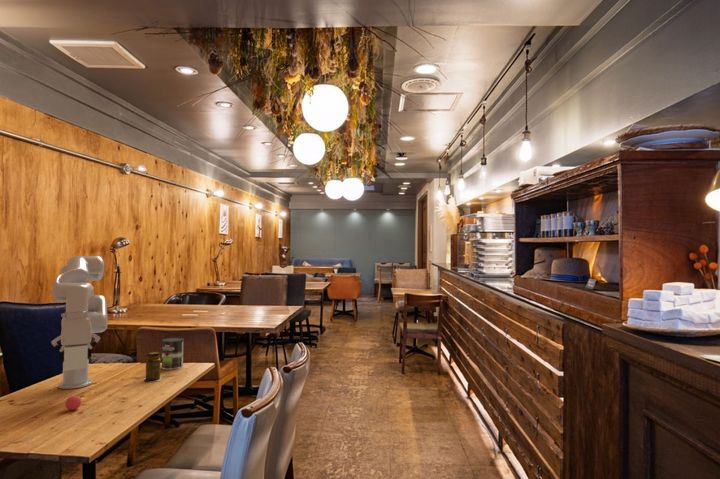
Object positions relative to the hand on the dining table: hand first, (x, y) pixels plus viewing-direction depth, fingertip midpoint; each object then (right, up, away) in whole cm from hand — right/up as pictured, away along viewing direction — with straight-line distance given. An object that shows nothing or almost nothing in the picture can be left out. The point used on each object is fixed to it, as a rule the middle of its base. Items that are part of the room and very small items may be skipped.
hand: (75, 359), depth 177 cm
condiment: (+18, -17, +27) cm, 37 cm away
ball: (+7, -13, -12) cm, 19 cm away
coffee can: (+18, -17, +50) cm, 55 cm away
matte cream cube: (0, -3, 0) cm, 3 cm away
